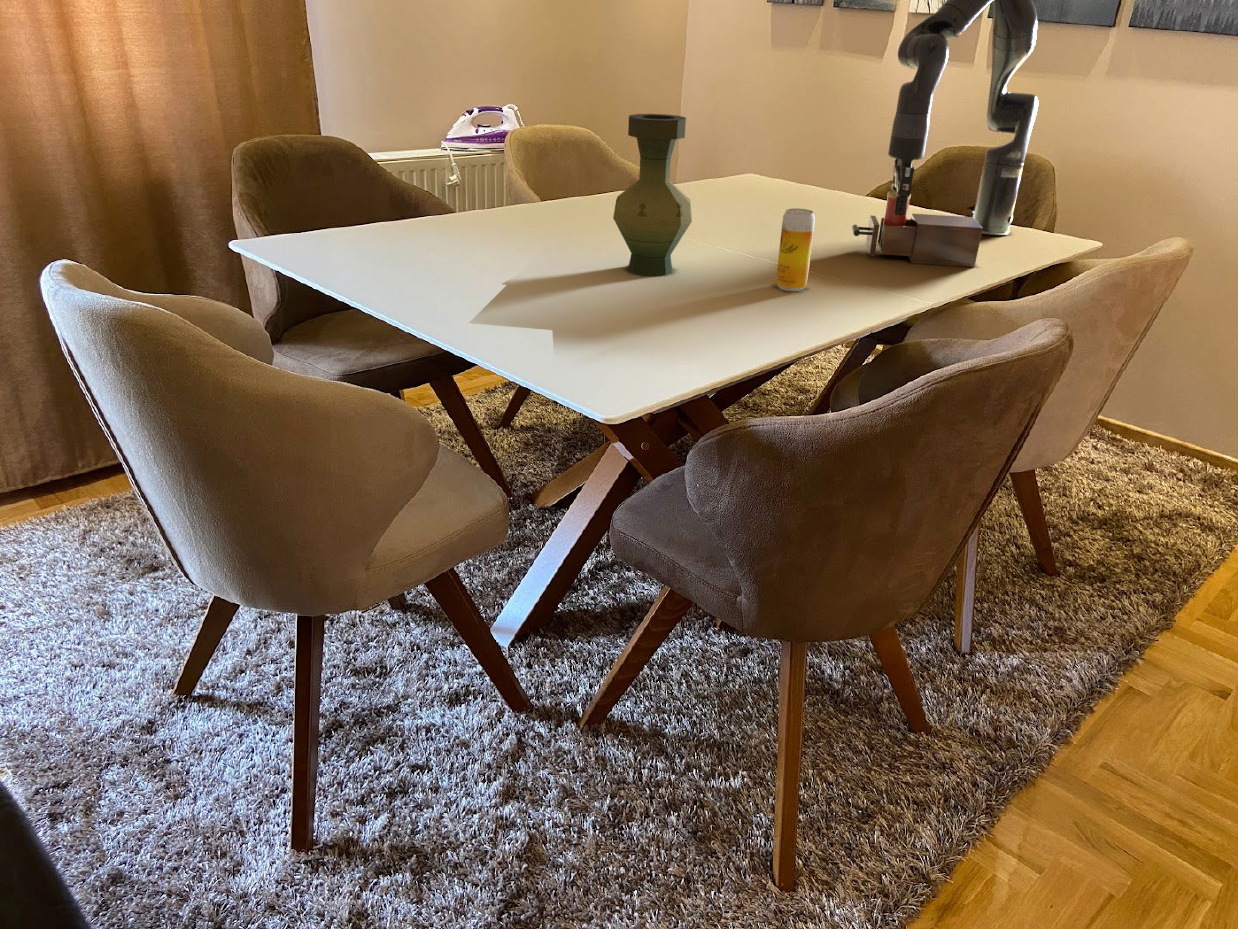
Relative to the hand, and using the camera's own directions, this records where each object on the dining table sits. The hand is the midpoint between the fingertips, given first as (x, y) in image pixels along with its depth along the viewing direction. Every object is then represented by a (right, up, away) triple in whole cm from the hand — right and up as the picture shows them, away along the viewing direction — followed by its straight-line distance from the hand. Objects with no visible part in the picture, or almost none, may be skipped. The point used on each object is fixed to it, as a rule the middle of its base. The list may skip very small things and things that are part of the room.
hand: (896, 211), depth 206 cm
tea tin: (0, -7, +4) cm, 8 cm away
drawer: (-1, -8, +4) cm, 9 cm away
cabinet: (+11, -10, +3) cm, 15 cm away
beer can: (-28, -22, -23) cm, 42 cm away
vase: (-56, -16, -14) cm, 59 cm away
